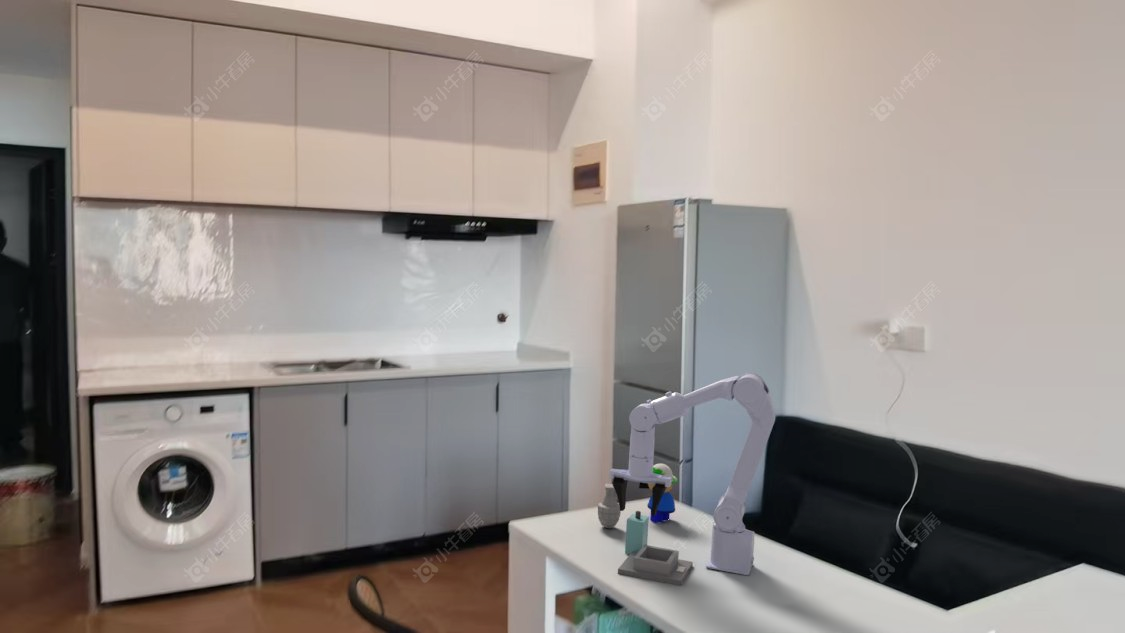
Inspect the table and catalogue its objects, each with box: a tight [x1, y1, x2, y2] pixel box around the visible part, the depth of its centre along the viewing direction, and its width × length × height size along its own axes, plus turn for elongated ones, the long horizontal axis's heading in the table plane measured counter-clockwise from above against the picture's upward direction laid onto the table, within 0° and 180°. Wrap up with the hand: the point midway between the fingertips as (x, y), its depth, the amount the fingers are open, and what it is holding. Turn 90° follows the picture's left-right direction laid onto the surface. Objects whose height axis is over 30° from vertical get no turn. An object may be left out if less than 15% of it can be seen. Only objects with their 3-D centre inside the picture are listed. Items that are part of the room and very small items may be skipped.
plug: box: [624, 510, 650, 555], centre depth 183 cm, size 4×5×10 cm
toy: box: [638, 463, 678, 523], centre depth 207 cm, size 9×9×15 cm
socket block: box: [617, 544, 694, 586], centre depth 172 cm, size 14×12×4 cm
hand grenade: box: [597, 483, 622, 529], centre depth 198 cm, size 6×6×11 cm
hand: (638, 512), depth 182 cm, fingers open, 7 cm apart
